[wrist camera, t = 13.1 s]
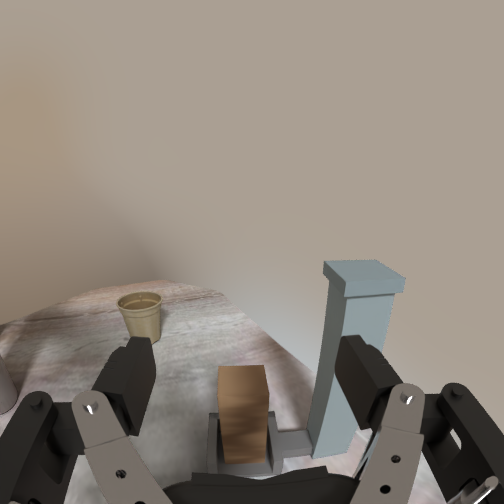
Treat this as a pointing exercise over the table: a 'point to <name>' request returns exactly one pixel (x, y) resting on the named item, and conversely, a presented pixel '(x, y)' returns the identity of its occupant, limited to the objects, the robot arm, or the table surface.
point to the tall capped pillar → (325, 370)
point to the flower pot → (142, 313)
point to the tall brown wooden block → (243, 413)
